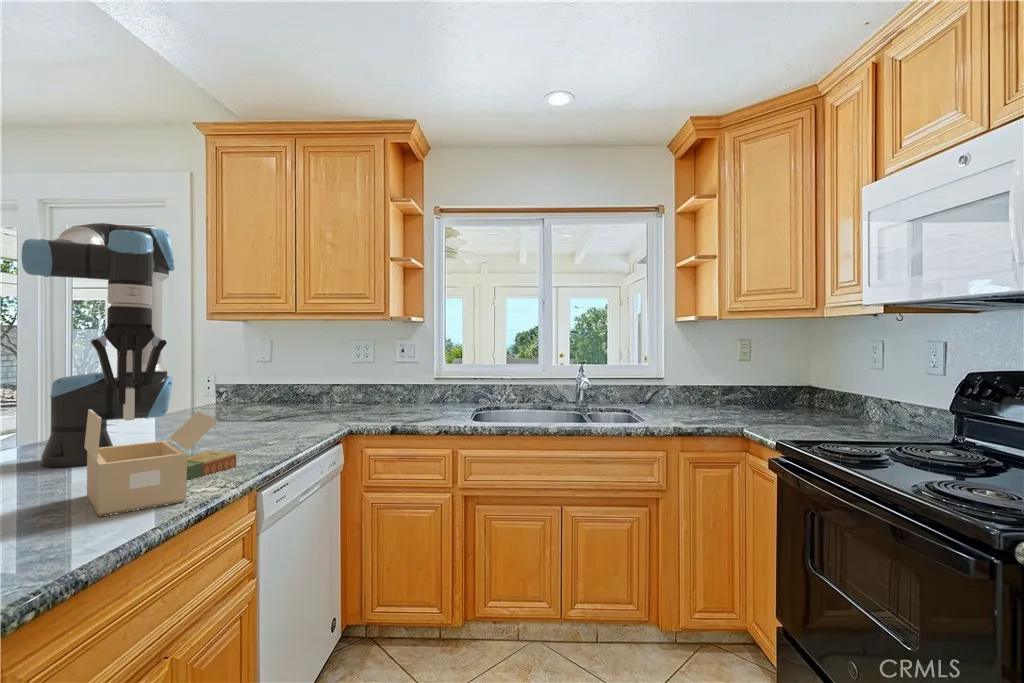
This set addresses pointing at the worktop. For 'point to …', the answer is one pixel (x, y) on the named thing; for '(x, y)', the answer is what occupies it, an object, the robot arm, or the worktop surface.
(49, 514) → the worktop surface
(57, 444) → the robot arm
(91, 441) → the near flap
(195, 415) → the far flap
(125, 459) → the cardboard box
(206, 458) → the carton
